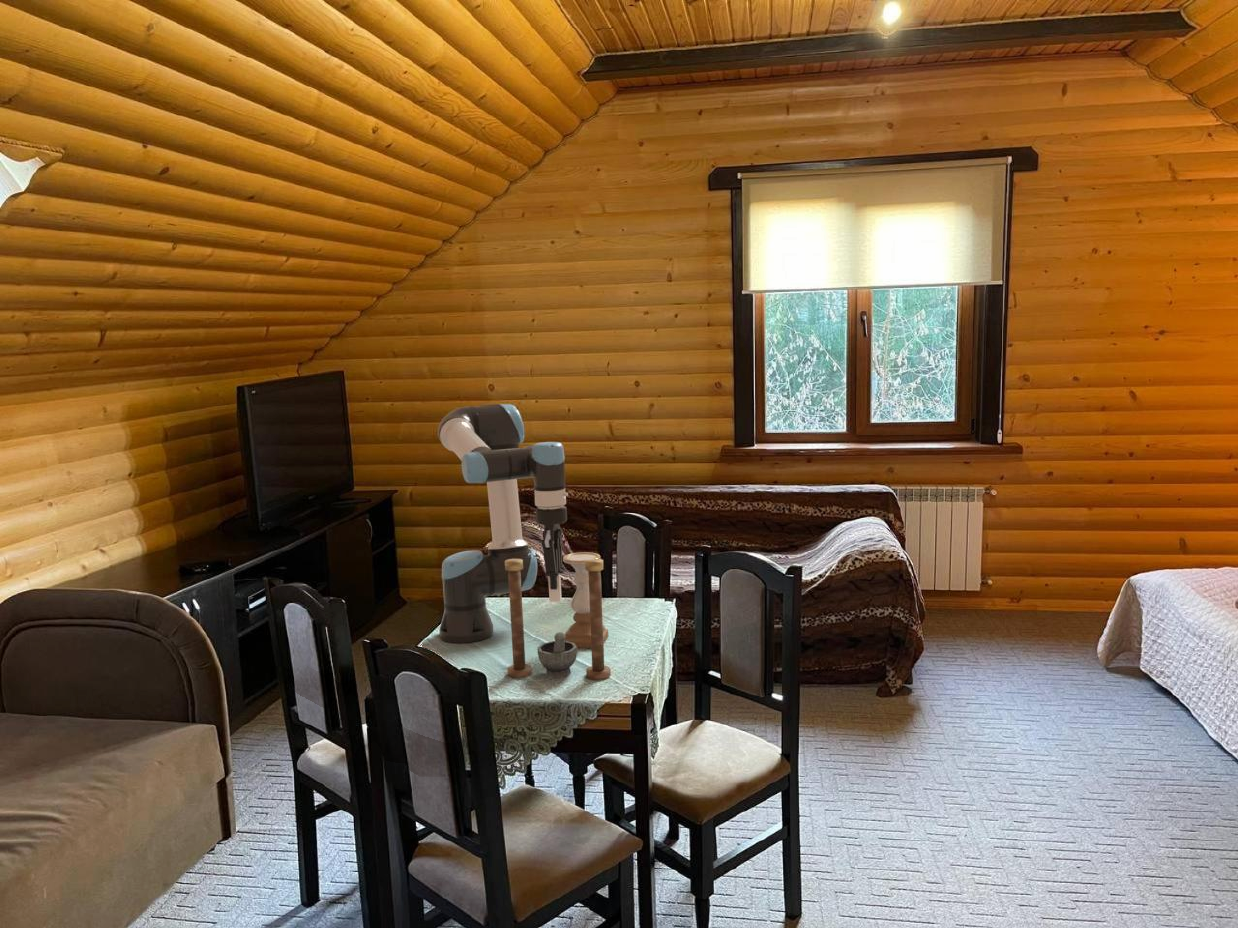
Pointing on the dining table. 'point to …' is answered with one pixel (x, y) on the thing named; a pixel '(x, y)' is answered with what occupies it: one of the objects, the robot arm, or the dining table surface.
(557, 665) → the mortar and pestle
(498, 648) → the dining table surface
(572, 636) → the candle holder
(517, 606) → the left candlestick
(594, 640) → the right candlestick
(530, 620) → the dining table surface
